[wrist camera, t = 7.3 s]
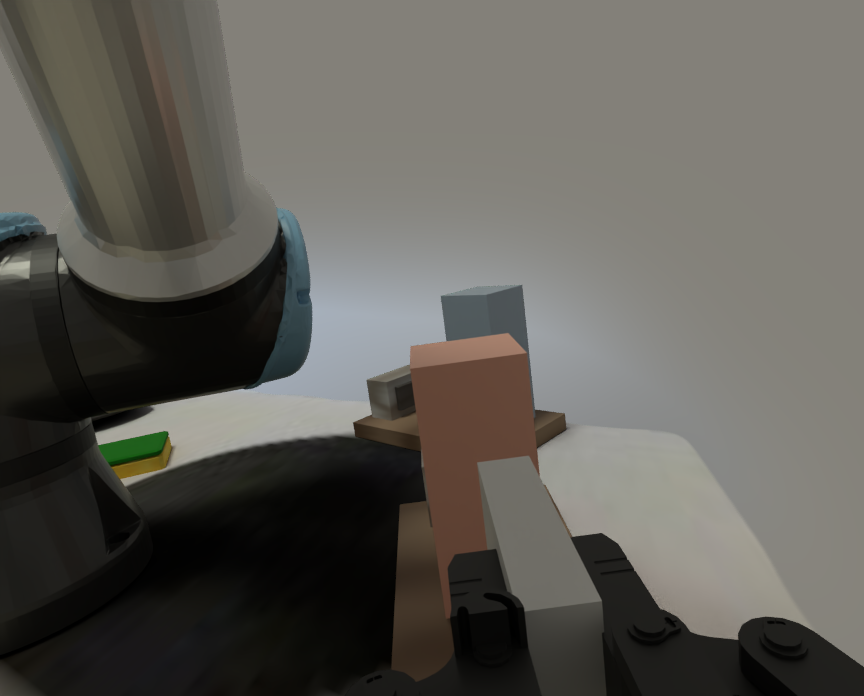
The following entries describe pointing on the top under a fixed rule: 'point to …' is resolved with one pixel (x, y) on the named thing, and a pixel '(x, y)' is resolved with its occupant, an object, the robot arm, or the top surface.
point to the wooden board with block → (399, 417)
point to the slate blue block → (487, 315)
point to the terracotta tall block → (468, 431)
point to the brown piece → (421, 596)
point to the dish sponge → (137, 454)
